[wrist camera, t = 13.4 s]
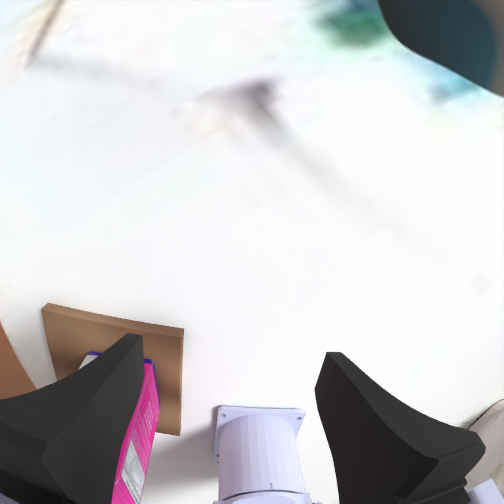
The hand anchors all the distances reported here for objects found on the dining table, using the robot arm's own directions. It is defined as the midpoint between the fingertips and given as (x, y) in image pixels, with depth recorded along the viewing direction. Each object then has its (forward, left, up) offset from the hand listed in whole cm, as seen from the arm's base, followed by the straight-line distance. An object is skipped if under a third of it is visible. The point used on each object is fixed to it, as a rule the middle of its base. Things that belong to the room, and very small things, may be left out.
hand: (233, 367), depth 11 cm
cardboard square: (-11, +9, -11) cm, 18 cm away
